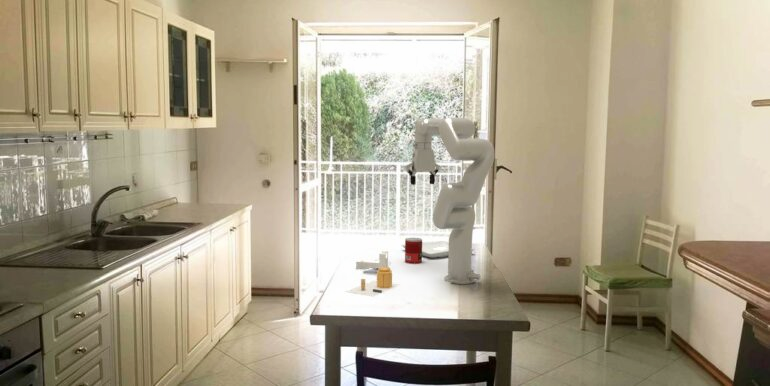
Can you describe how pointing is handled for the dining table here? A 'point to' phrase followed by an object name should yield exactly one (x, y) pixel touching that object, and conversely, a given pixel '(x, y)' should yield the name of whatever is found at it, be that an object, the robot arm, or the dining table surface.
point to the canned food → (413, 250)
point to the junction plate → (369, 288)
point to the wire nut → (384, 277)
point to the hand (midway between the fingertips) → (422, 184)
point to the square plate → (430, 252)
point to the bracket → (373, 262)
